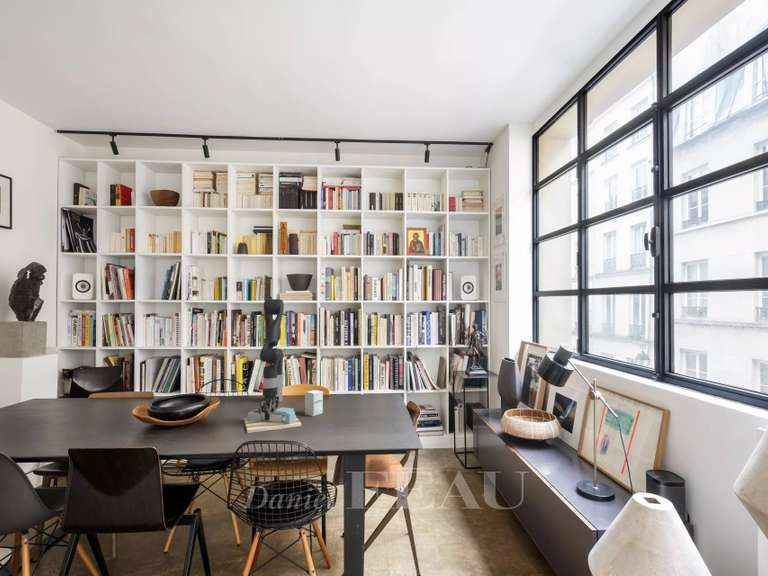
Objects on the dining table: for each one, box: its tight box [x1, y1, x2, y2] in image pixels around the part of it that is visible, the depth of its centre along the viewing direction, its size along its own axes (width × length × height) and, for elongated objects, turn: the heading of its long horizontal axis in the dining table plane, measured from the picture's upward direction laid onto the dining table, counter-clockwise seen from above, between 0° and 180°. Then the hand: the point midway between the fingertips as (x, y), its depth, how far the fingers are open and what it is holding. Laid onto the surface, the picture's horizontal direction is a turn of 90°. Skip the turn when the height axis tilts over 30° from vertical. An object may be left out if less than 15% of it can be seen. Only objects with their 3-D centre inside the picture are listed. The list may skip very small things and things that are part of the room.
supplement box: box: [304, 389, 324, 417], centre depth 216 cm, size 7×7×13 cm
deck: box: [243, 415, 302, 434], centre depth 199 cm, size 22×26×1 cm
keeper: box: [274, 406, 296, 424], centre depth 197 cm, size 9×7×7 cm
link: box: [247, 408, 286, 423], centre depth 200 cm, size 19×8×4 cm, turn 71°
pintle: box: [256, 406, 261, 413], centre depth 202 cm, size 2×2×8 cm
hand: (269, 418), depth 200 cm, fingers closed on link, 4 cm apart
